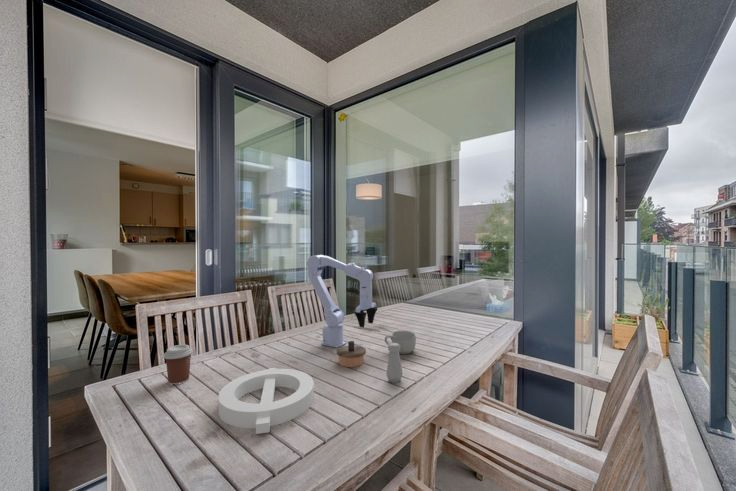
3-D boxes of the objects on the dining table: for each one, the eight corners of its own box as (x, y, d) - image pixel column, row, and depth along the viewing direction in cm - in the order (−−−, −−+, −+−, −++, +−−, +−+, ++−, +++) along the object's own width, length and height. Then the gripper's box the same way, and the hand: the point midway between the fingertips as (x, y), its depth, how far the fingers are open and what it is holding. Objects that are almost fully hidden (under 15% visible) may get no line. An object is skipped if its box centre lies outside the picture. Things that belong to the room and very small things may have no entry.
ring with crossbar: (261, 442, 79) (261, 423, 79) (198, 410, 94) (198, 394, 94) (331, 394, 103) (331, 380, 103) (272, 375, 118) (272, 363, 118)
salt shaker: (404, 378, 114) (404, 342, 114) (400, 385, 108) (400, 347, 108) (388, 376, 116) (388, 340, 116) (384, 382, 110) (384, 345, 110)
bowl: (333, 363, 128) (333, 353, 128) (348, 355, 136) (348, 346, 136) (354, 368, 123) (354, 358, 122) (368, 360, 131) (367, 350, 131)
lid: (330, 353, 128) (330, 343, 128) (349, 345, 138) (349, 335, 138) (353, 360, 121) (353, 348, 121) (371, 350, 131) (371, 340, 131)
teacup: (415, 347, 146) (415, 330, 145) (416, 356, 135) (416, 337, 135) (385, 347, 147) (385, 330, 147) (384, 355, 136) (384, 337, 136)
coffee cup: (189, 373, 120) (188, 341, 120) (196, 380, 113) (196, 347, 113) (161, 381, 113) (160, 347, 113) (167, 389, 107) (166, 354, 107)
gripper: (364, 299, 138) (365, 330, 138) (381, 294, 150) (381, 322, 151) (351, 297, 142) (351, 327, 142) (368, 292, 154) (368, 320, 154)
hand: (366, 325), depth 147 cm, fingers open, 7 cm apart
